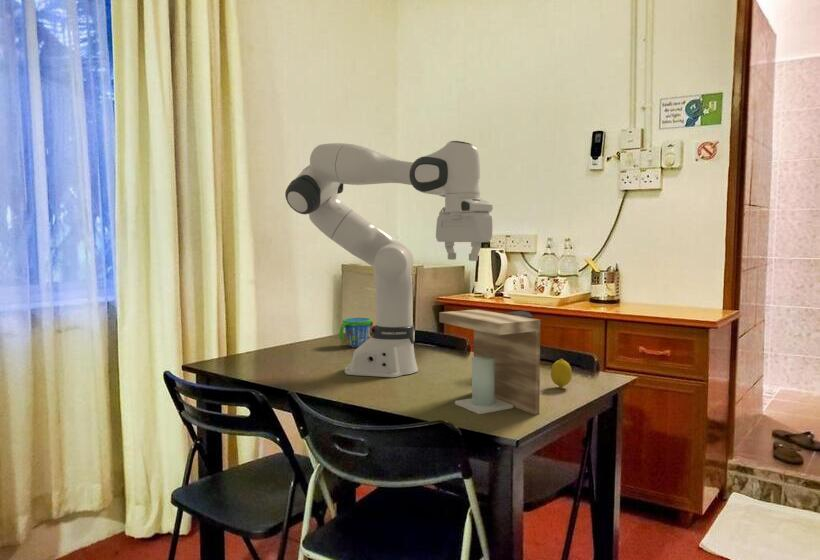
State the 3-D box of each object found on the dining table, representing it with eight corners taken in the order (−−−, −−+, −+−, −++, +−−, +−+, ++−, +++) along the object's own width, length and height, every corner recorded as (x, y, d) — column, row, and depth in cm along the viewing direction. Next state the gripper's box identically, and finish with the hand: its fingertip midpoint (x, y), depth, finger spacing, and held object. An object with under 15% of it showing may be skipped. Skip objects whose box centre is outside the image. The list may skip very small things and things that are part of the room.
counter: (498, 422, 135) (499, 323, 134) (439, 397, 156) (439, 312, 155) (539, 413, 141) (540, 319, 140) (477, 391, 162) (477, 309, 161)
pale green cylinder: (472, 405, 146) (471, 360, 145) (471, 399, 151) (471, 355, 150) (495, 406, 145) (495, 360, 144) (494, 399, 151) (494, 355, 150)
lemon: (567, 391, 162) (568, 361, 161) (547, 388, 165) (548, 359, 164) (574, 387, 167) (574, 358, 166) (554, 384, 170) (554, 356, 169)
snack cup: (347, 350, 222) (347, 322, 221) (332, 346, 230) (331, 319, 229) (382, 345, 231) (382, 318, 231) (366, 341, 240) (366, 316, 239)
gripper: (430, 207, 162) (430, 259, 163) (476, 203, 145) (475, 261, 146) (449, 207, 166) (449, 258, 167) (497, 204, 148) (496, 261, 149)
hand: (462, 260), depth 156 cm, fingers open, 8 cm apart
